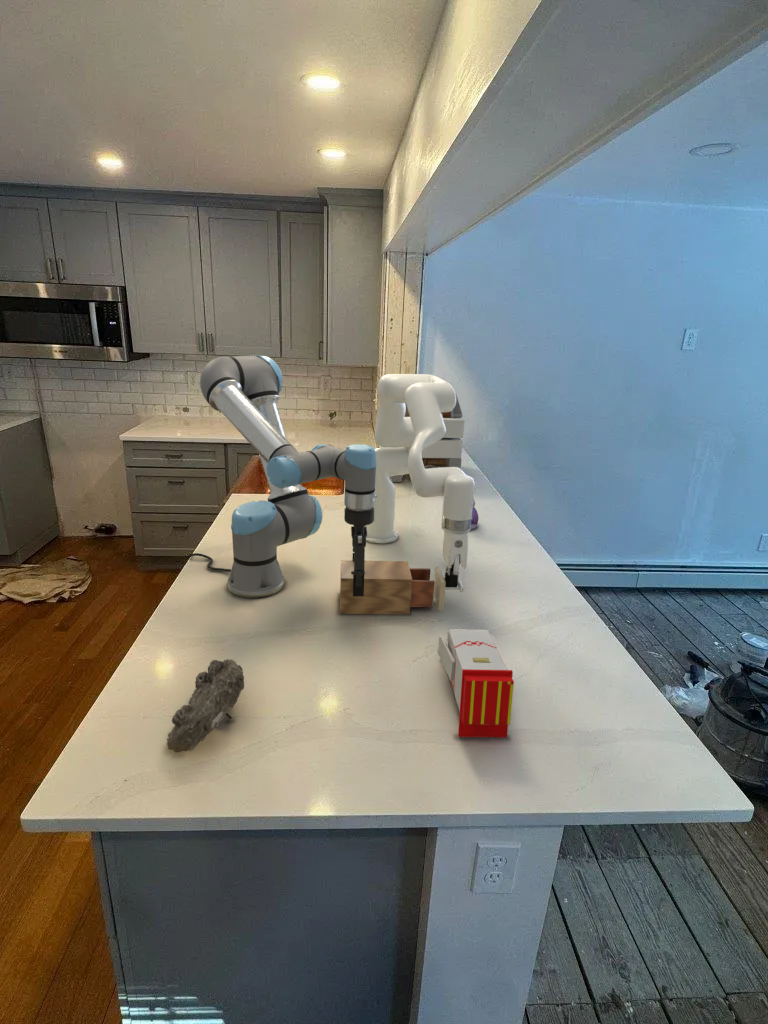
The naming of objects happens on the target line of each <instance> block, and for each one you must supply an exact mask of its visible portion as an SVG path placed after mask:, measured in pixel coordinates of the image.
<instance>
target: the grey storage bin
mask: <svg viewBox="0 0 768 1024" xmlns="http://www.w3.org/2000/svg"><path fill="white" fill-rule="evenodd" d="M405 405H406V412H405V417H410V415H409V412H408V408H407V404H406V403H405ZM441 414H442V418H443V421H444V424H445V427H446V433H445V435H444V437H443V438H441V439H440V440H439V441H437V442H436V443H434V444H432V445H430V446H428V447H426V448H424V449H423V450H422V461H423V465H424V467H436V468H441V467H458V468H460V469H461V470H462V461H463V460H462V453H463V442H464V441H463V440H462V439H463V438H464V431H465V430H464V429H465V419H464V418H463V411H462V408H461V405H460V402H459V398H458V395H457V394H456V405H455V407H454V409H453V410H452V411H450V412H441ZM389 479H390V480H391V482H392V483H402V482H403V475H393V476H389Z"/></svg>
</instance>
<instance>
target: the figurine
mask: <svg viewBox="0 0 768 1024" xmlns="http://www.w3.org/2000/svg"><path fill="white" fill-rule="evenodd" d="M475 506H476V501H475V498H474V499H473V509H472V519H471V529H470V530H474V529H476V528H477V527H478V524H479V520H480V519H479V513H478V510H477V509H476V507H475Z"/></svg>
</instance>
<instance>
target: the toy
mask: <svg viewBox="0 0 768 1024" xmlns="http://www.w3.org/2000/svg"><path fill="white" fill-rule="evenodd" d="M446 640H447V643H446V641H445V639H444V636H443V635H442V634H439V637H438V646H437V656H438V657H439V659H440V661H441V663H442V666H443V668H444V670H445V672H446V674H447V677H448V679H449V681H450V684H451V687H452V690H453V693H454V697H455V701H456V705H457V708H458V711H459V714H458V715H459V716H458V730H457V731H458V732H457V737H458V738H508V731H509V726H510V725H511V717H512V707H513V697H514V696H513V695H514V684H515V680H514V679H513V673H514V671H513V670H512V669H508V667H507V665H506V662H505V661H504V659H503V658H502V655H501V653H500V651H499V649H498V647H497V643H496V639H495V637H494V635H493V634H491V632H490V631H489V629H467V628H466V629H465V628H463V629H461V628H460V629H459V628H448V630H447V639H446Z"/></svg>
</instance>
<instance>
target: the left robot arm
mask: <svg viewBox="0 0 768 1024" xmlns="http://www.w3.org/2000/svg"><path fill="white" fill-rule="evenodd" d="M283 378H284V377H283V373H282V371H281V369H280V367H279V365H278V364H277V362H276V361H275V360H274V359H272V358H270V357H269V356H266V355H258V354H251V355H235V356H231V355H230V356H228V355H227V356H218V357H215V358H213V359H211V360H210V361H209V362H208V363H206V365H205V366H204V368H203V369H202V371H201V374H200V379H199V386H200V391H201V394H202V396H203V398H204V399H205V401H206V402H207V404H208V405H209V406H211V408H212V409H213V410H215V411H217V412H221V413H222V414H223V416H224V417H225V418H226V419H227V420H228V421H229V422H230V423H231V425H232V426H233V427H234V428H235V429H236V430H237V431H238V432H239V433H240V434H241V435H242V436H243V438H244V439H245V440H246V441H247V443H249V445H250V446H251V447H252V448H254V450H255V451H256V452H257V453H258V455H259V457H260V462H261V464H262V468H263V471H264V475H265V478H266V481H267V484H268V487H269V488H268V489H269V491H270V493H269V495H268V498H267V500H257V501H256V500H253V501H248V502H245V503H242V504H241V505H239V506H237V507H236V508H235V509H234V510H233V512H232V514H231V524H230V529H231V536H232V554H233V557H232V558H233V563H232V565H231V568H223V567H213V566H211V565H212V564H213V562H214V560H213V557H210V556H209V555H207V554H203V553H198V552H193V553H190V554H188V555H187V556H186V558H187V559H190V558H191V557H201V558H205V559H207V560H208V561H209V562H208V563H207V564H206V567H207V569H208V570H210V571H215V572H216V571H217V572H227V573H229V575H228V579H227V589H228V590H229V592H230V593H231V594H233V595H235V596H237V597H242V598H246V599H247V598H248V599H257V598H265V597H269V596H273V595H275V594H276V593H279V592H280V591H281V590H282V589H283V588H284V586H285V576H284V574H283V571H282V569H281V567H280V563H279V561H278V555H277V553H278V551H277V549H278V548H277V547H280V546H282V545H286V544H288V543H289V544H290V543H293V542H295V541H298V540H303V539H306V538H308V537H310V536H312V535H314V534H316V533H317V532H318V531H319V529H320V527H321V525H322V522H323V510H322V509H323V508H322V506H321V503H320V501H319V500H318V499H317V498H316V497H315V496H314V495H311V494H309V492H308V489H307V487H306V486H303V485H302V484H306V483H311V482H315V481H316V482H317V481H320V480H324V479H328V478H335V479H339V480H342V481H344V503H343V504H344V506H345V507H344V516H343V517H344V522H345V523H346V524H347V525H350V532H351V533H350V537H351V539H352V541H351V545H352V559H351V560H354V572H351V574H353V596H364V575H365V571H364V563H365V561H366V558H365V555H366V554H365V552H366V546H367V541H366V537H367V527H366V525H369V524H371V523H373V522H374V508H373V507H374V501H375V500H374V498H377V494H375V475H376V465H377V463H376V451H375V449H374V448H375V447H373V446H372V445H369V444H362V443H355V444H349V445H348V446H347V447H346V448H341V447H337V446H335V445H332V444H325V443H319V444H316V445H315V446H314V447H313V448H312V449H311V450H306V451H301V452H300V451H299V450H297V448H296V447H295V446H293V445H292V443H290V441H288V440H287V437H286V434H285V430H284V426H283V424H282V423H283V422H282V420H281V416H280V413H279V409H278V406H277V404H278V402H279V400H280V398H281V397H280V393H281V392H282V390H283V384H282V383H283V382H284V380H283Z"/></svg>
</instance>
